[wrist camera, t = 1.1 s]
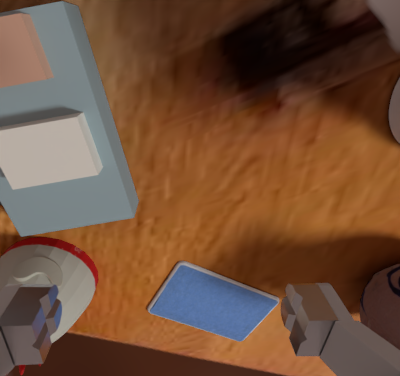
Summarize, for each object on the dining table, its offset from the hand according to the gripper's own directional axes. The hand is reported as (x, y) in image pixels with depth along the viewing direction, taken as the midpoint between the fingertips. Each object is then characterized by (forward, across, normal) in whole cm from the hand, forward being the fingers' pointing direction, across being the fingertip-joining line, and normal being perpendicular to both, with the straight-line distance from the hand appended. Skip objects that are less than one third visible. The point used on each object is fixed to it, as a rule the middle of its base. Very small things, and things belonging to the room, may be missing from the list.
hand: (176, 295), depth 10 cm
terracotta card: (+22, +16, -6) cm, 27 cm away
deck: (+26, +14, +2) cm, 29 cm away
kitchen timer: (+26, +18, +24) cm, 40 cm away
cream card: (+22, +13, +3) cm, 25 cm away
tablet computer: (+26, -7, +31) cm, 41 cm away
